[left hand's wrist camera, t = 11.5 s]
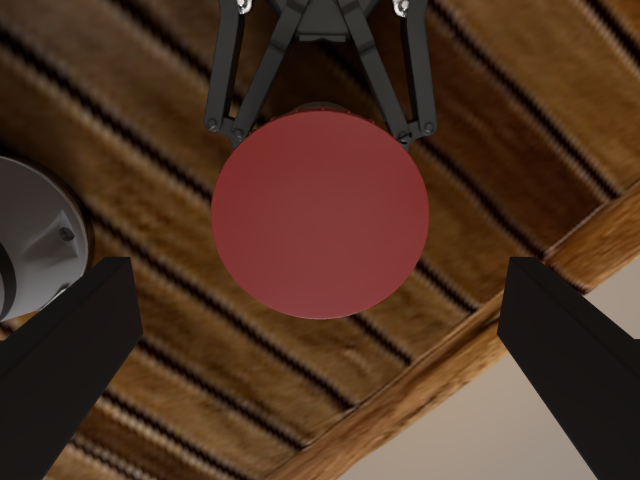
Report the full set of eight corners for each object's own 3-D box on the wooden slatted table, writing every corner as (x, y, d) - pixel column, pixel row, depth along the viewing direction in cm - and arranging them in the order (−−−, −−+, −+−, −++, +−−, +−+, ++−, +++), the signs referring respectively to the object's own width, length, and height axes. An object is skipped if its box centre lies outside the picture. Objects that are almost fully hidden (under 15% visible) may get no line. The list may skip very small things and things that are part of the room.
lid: (261, 322, 24) (256, 342, 22) (185, 146, 20) (172, 153, 19) (440, 271, 23) (451, 287, 21) (392, 75, 19) (400, 75, 18)
